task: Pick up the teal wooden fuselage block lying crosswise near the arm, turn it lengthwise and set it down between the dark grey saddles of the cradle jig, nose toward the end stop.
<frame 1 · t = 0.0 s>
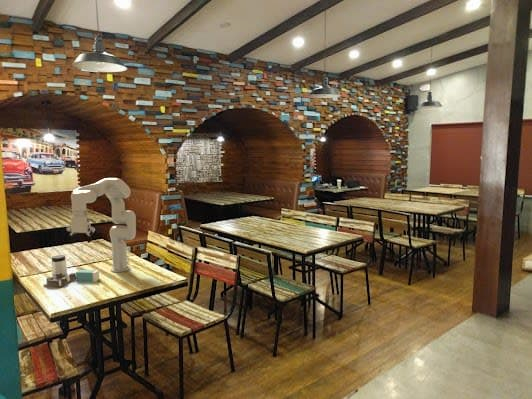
hand: (81, 242, 233), 31 cm above the table, tool pointing down, fingers open, 9 cm apart
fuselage: (88, 280, 260), on the table
jar: (59, 273, 274), on the table
cradle: (61, 281, 257), on the table
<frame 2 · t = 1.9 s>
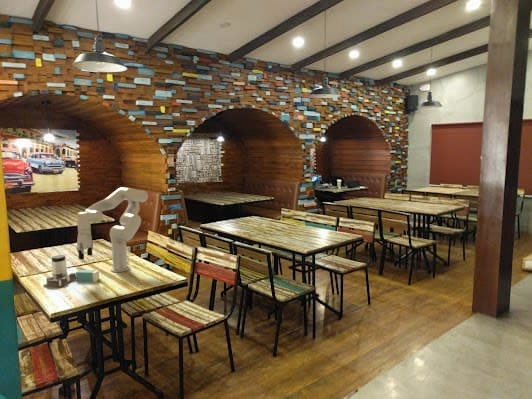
hand: (85, 257, 258), 16 cm above the table, tool pointing down, fingers open, 9 cm apart
nothing on the table moved.
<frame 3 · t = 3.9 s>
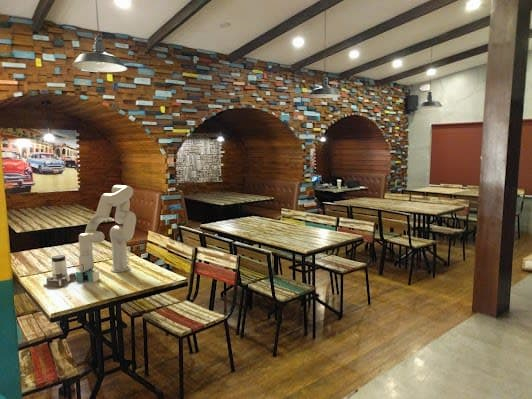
hand: (87, 278, 260), 1 cm above the table, tool pointing down, fingers closed on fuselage, 5 cm apart
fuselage: (88, 280, 260), on the table, touching gripper
everything else where it was.
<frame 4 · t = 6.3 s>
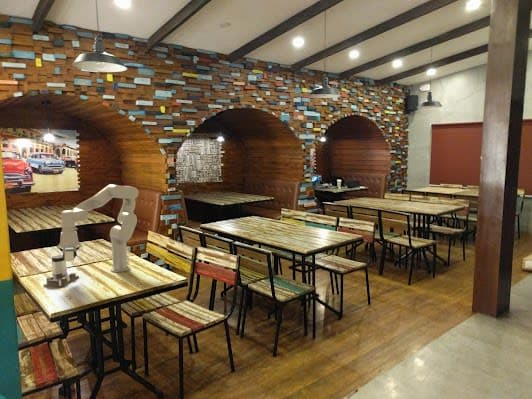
hand: (70, 257, 256), 16 cm above the table, tool pointing down, fingers closed on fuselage, 5 cm apart
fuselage: (70, 258, 256), point 15 cm above the table, touching gripper
everything else where it was.
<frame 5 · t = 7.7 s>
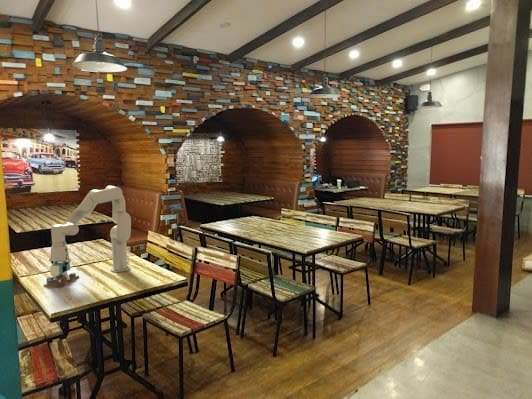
hand: (60, 271, 256), 7 cm above the table, tool pointing down, fingers closed on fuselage, 5 cm apart
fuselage: (60, 272, 256), point 7 cm above the table, touching gripper
everything else where it was.
when the fingers open (3 cm above the table, at t = 8.9 s): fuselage drops 1 cm, resting on cradle.
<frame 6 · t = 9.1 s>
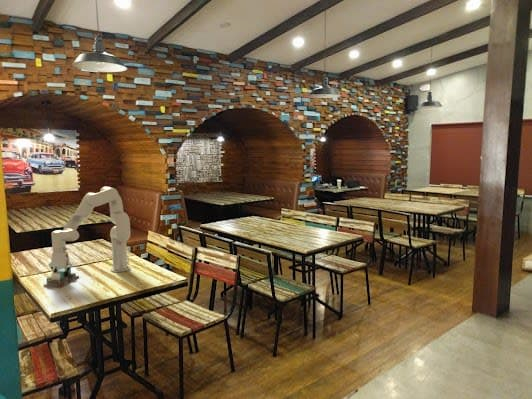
hand: (61, 276, 257), 4 cm above the table, tool pointing down, fingers open, 6 cm apart
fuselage: (61, 280, 257), point 1 cm above the table, touching cradle
everything else where it was.
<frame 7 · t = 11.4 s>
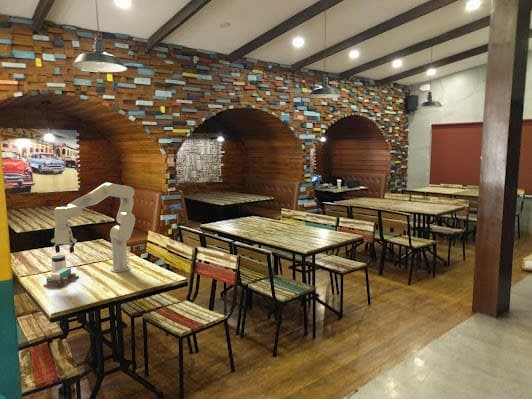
hand: (64, 252, 255), 19 cm above the table, tool pointing down, fingers open, 9 cm apart
nothing on the table moved.
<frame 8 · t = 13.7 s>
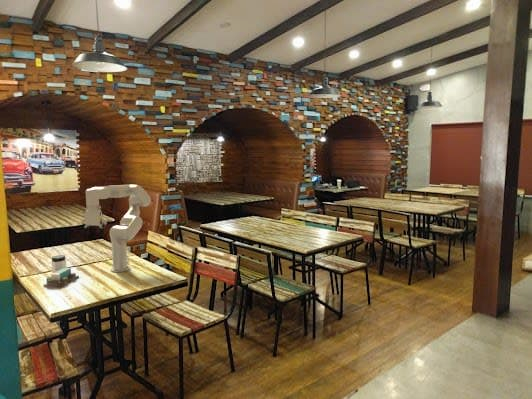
hand: (94, 233, 259), 30 cm above the table, tool pointing down, fingers open, 9 cm apart
nothing on the table moved.
at the end: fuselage 0.0 cm off-centre on the cradle, point 1.2 cm above the cradle's base; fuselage tilted 0°; the gripper is holding nothing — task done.
